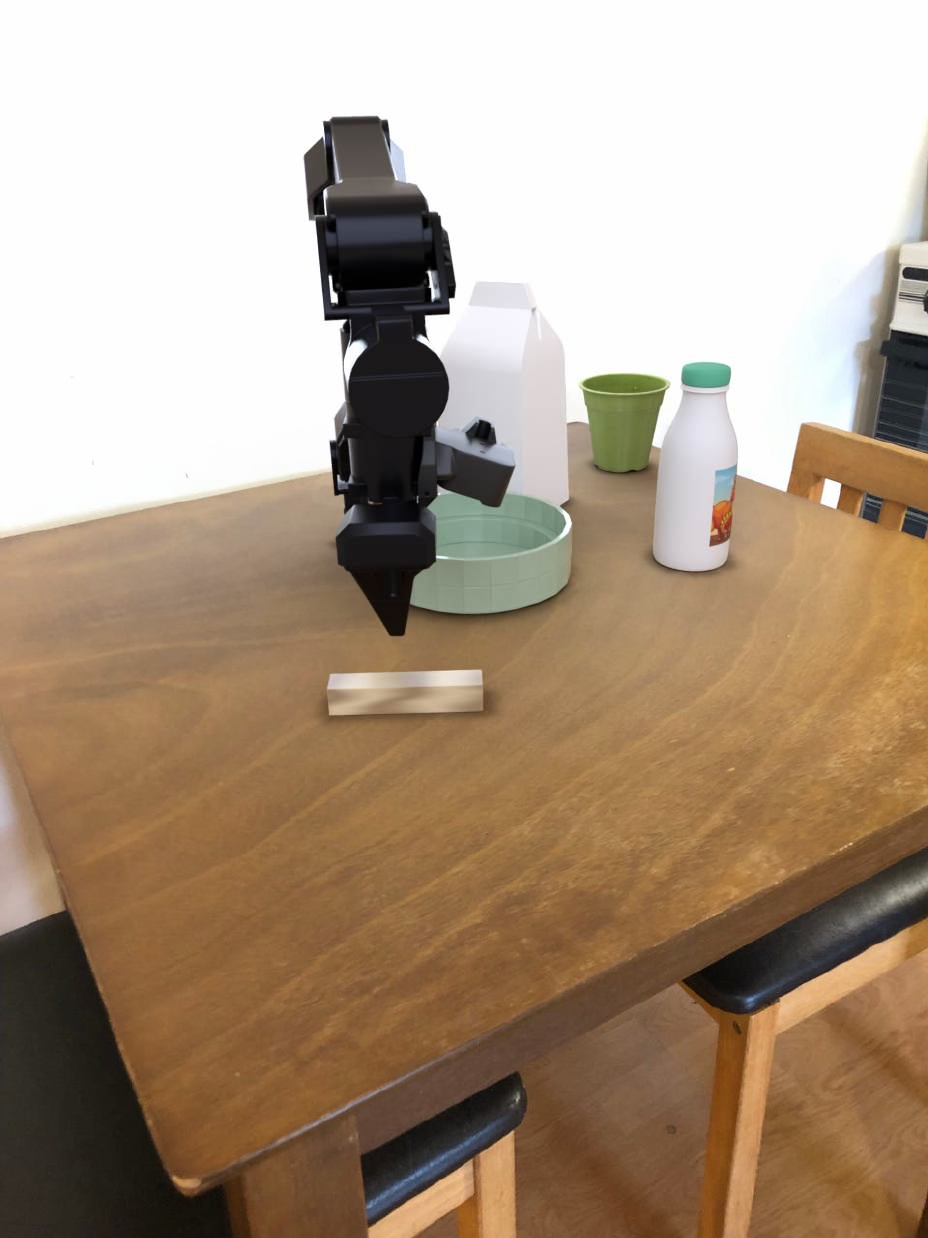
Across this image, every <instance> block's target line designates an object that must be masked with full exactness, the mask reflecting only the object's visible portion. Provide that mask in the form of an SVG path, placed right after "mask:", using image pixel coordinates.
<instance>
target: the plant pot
mask: <svg viewBox="0 0 928 1238" xmlns="http://www.w3.org/2000/svg"><path fill="white" fill-rule="evenodd" d="M671 385H672V384H671V381H670V380H668V379H667V378H665V377H662V376H659V375H655V374H648V373H640V372H639V373H637V372H610V373H609V372H608V373H601V374H595V375H591V376H588V377H584V378H583V379H581V380H580V381H579V382H578V388H580V390H582V395H583V401H584V405H585V407H586V414H587V419H588V427H589V435H590V442H591V449H592V457H593V463H594V466H597V468H599V469H600V470H603V471H605V472H614V473H619V474H622V473H627V472H629V471H632V470H634V471H641V470H643V469H645V468H646V467H647V466H648V464H649V460H650V456H651V452H652V447H653V441H654V437H655V433H656V429H657V423H658V420H659V416H660V410H661V407H662V406H663V403H664V400H665V395H666V392H667V390H668V389H669V388H670V387H671Z"/></svg>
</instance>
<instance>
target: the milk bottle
mask: <svg viewBox="0 0 928 1238" xmlns="http://www.w3.org/2000/svg"><path fill="white" fill-rule="evenodd" d="M680 373H681V375H680V381H681V385H680V389H681V390H682V395H681V400H680V403H679V405H678V407H677V410H676V412H675V414H674V417H673V419H672V420H671V422H670V424H669V426H668V428H667V429H666V432H665V434H664V436H663V440H662V443H661V448H660V453H659V462H658V471H657V481H656V482H657V483H656V484H657V485H656V495H655V510H654V522H653V527H654V528H653V540H652V554H653V557H654V560H656V562H658V563H659V564H660V565H663V566H664V567H667V568H670V569H674V570H678V571H686V572H705V571H711V570H714V569H718V568H720V567H722V566H723V565H724V564H725V563H726V561H727V560H728V557H729V548H730V544H731V543H730V542H731V532H732V524H733V515H734V507H735V506H734V504H735V495H736V487H737V486H736V485H737V476H738V463H739V462H738V461H739V460H738V459H739V445H738V439H737V435H736V431H735V428H734V425H733V422H732V420H731V416H730V414H729V409H728V403H727V393H728V391H729V390H730V383H731V379H732V367H731V366H730V365H728V364H725V363H721V362H716V361H695V362H689V363H685V365H683V366H682V368H681V372H680Z"/></svg>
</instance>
